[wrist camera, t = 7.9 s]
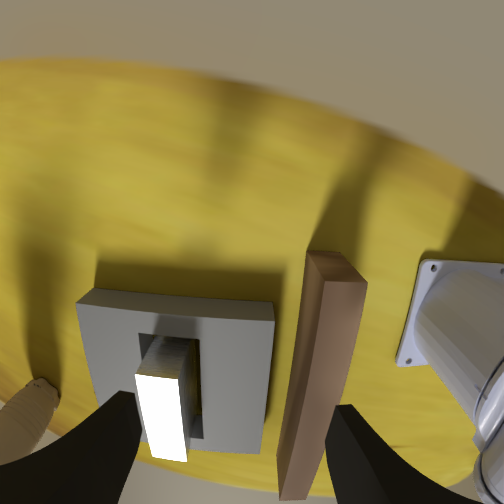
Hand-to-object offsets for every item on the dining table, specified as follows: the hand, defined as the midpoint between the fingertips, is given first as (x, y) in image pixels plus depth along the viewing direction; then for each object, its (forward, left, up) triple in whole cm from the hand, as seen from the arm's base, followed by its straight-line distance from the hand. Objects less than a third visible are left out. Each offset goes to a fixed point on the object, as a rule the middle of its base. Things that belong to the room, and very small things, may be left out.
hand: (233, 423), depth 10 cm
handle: (+17, +10, -10) cm, 22 cm away
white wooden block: (+4, +5, -10) cm, 11 cm away
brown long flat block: (-4, +5, -9) cm, 12 cm away
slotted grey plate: (+4, +5, -9) cm, 11 cm away
